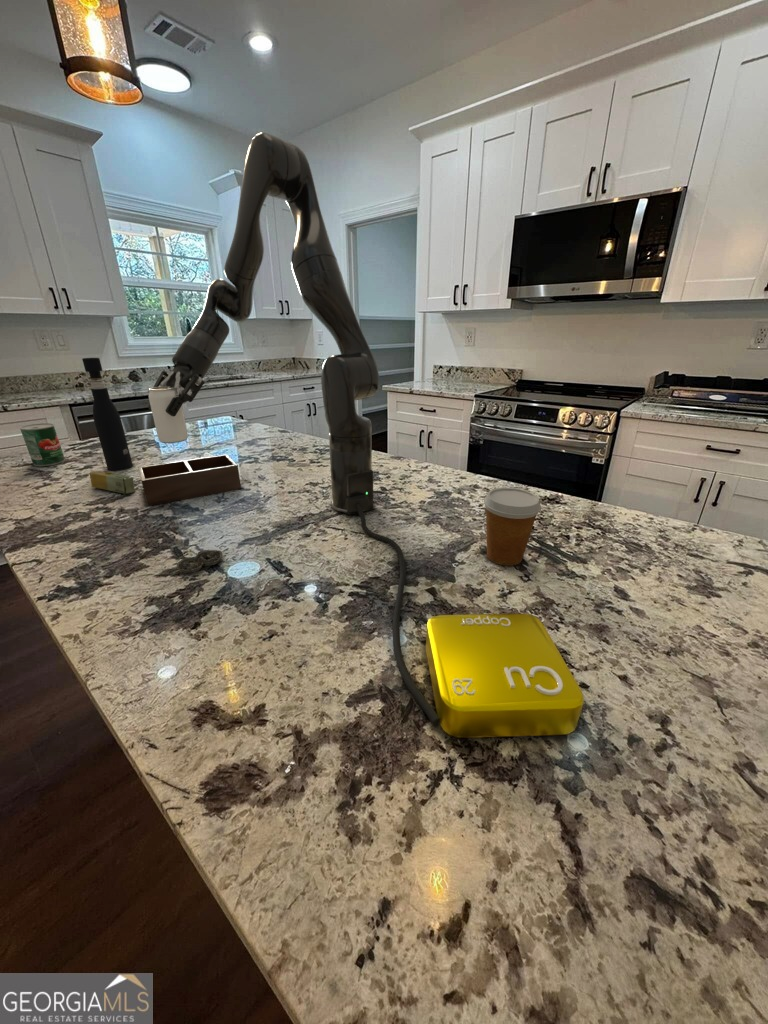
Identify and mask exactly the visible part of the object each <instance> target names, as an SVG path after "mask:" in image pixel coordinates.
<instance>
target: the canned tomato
mask: <svg viewBox="0 0 768 1024" xmlns="http://www.w3.org/2000/svg"><path fill="white" fill-rule="evenodd" d="M19 430H20V432H21V435H22V438H23V440H24V443H25V446H26V449H27V451H28V454H29V457H30V459H31V462H32V465H33V466H34V467H49V466H55V465H59V464H62V463H64V462H66V458H65V455H64V451H63V448H62V446H61V442H60V440H59V436H58V433H57V431H56V427H55V424H54V423H50V422H49V423H48V422H47V423H46V422H45V423H44V422H43V423H42V422H41V423H33V424H27V425H23V426H20V427H19Z"/></svg>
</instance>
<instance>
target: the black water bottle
mask: <svg viewBox="0 0 768 1024" xmlns="http://www.w3.org/2000/svg"><path fill="white" fill-rule="evenodd" d="M81 361H82V364H83V366H84V370H85V372H86V373H88V374H89V379H90V380H91V381H90V384H89V385H90V387H91V389H90V391H91V396H92V398H93V404H92V417H93V418H92V419H93V423H94V426H95V430H96V433H97V437H98V439H99V443H100V446H101V450H102V454H103V457H104V460H105V465H106V468H107V470H108V471H123V470H127V469H130V468H132V467H133V466H134V465H133V461H132V457H131V453H130V449H129V445H128V442H127V436H126V434H125V430H124V425H123V422H122V418H121V415H120V413H119V411H118V409H117V407H116V405H115V404H114V402H113V401H112V399H111V398H110V394H109V389H108V388H107V387H106V382H105V381H104V380H102V379H103V377H102V374H101V372H103V371H104V369H103V367H102V362H101V359H100V357H83V358H81Z"/></svg>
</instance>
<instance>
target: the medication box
mask: <svg viewBox="0 0 768 1024" xmlns="http://www.w3.org/2000/svg"><path fill="white" fill-rule="evenodd" d="M89 478H90V484H91V487H92V488H96V489H101V490H105V491H110V492H114V493H120V494H123V495H129V494H134V493H135V492H136V490H135V482H134V481H135V480H134V476H131V475H125V474H119V473H116V472H115V473H113V472H109V471H102V470H94V471H90V472H89Z"/></svg>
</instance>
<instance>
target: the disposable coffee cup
mask: <svg viewBox="0 0 768 1024" xmlns="http://www.w3.org/2000/svg"><path fill="white" fill-rule="evenodd" d="M483 505H484V507H485V524H486V527H485V529H486V531H485V532H486V533H485V534H486V557H487V559H488V560H490V561H491V562H493V563H495V564H497V565H501V566H509V567H510V566H517V565H519V564H521V562H522V561H523V557H524V554H525V551H526V549H527V545H528V542H529V539H530V536H531V533H532V531H533V530H532V529H533V527H534V524H535V521H536V517H537V515H539V512H541V509H542V505H541V504H540V498H539V496H538V495H536V494H535V493H533V492H531V491H529V490H526V489H521V488H517V487H496V488H494V489H493V488H492V489H491V490H489V491H488V492H487V494H486V496H485V497H484V499H483Z"/></svg>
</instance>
